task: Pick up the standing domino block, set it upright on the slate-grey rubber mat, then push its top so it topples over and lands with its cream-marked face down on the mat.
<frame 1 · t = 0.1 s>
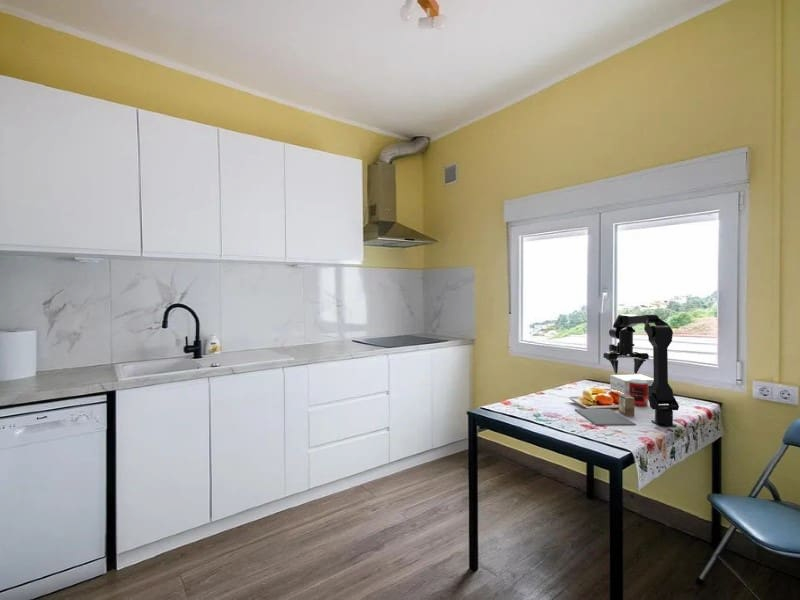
hand: (625, 373, 193), 15 cm above the table, fingers open, 9 cm apart
supplement box: (632, 395, 210), on the table
mat: (603, 417, 174), on the table
canned food: (638, 404, 193), on the table
block: (626, 414, 178), on the table
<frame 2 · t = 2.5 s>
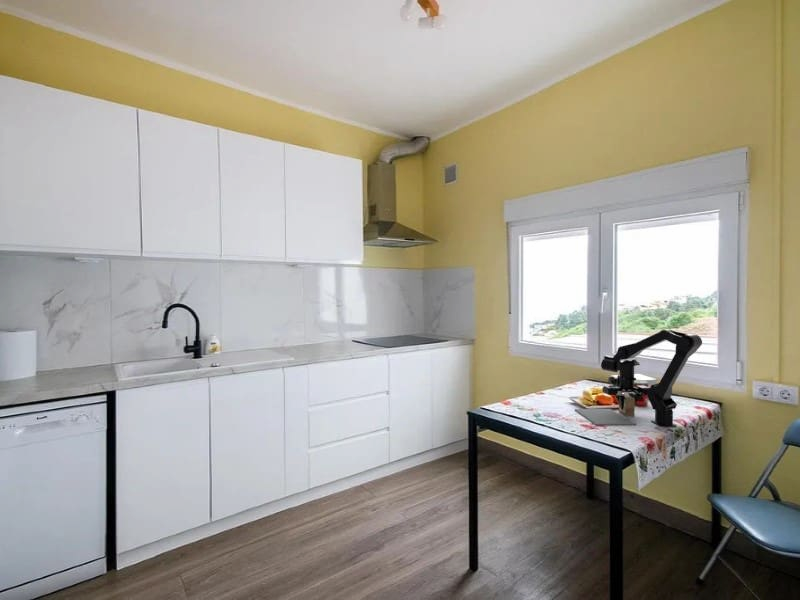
hand: (626, 409, 178), 2 cm above the table, fingers closed on block, 4 cm apart
block: (626, 414, 178), on the table, touching gripper
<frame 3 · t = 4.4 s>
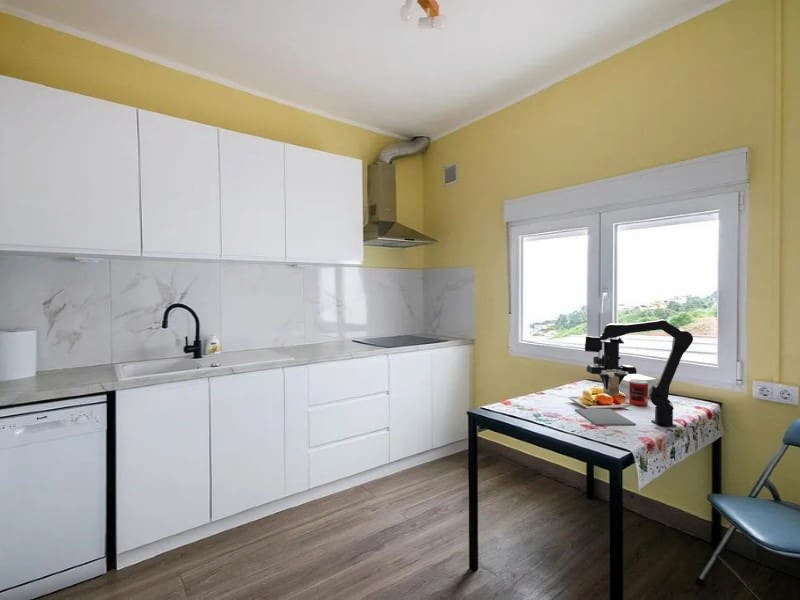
hand: (610, 389, 174), 12 cm above the table, fingers closed on block, 4 cm apart
block: (610, 394, 174), point 10 cm above the table, touching gripper
when the fingers open (4 cm above the table, at t = 6.2 s): block stays where it is, resting on mat.
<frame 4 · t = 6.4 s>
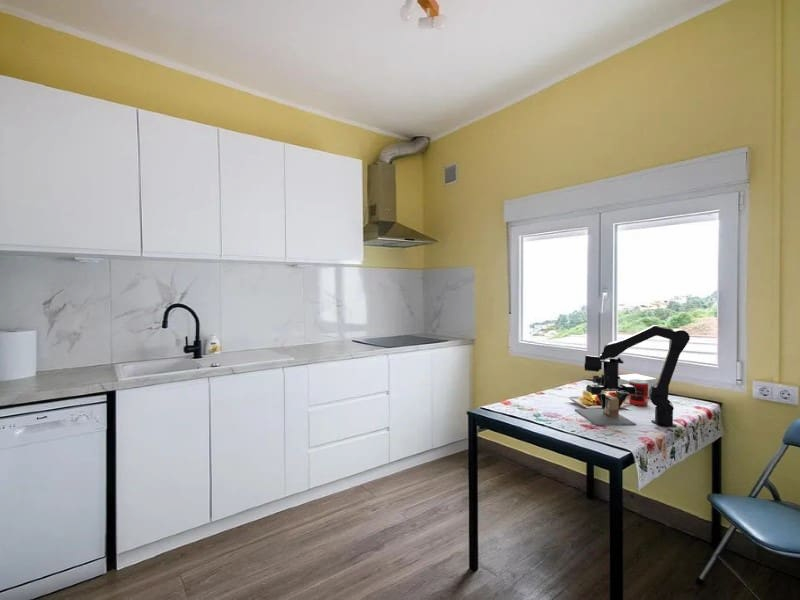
hand: (610, 408, 174), 4 cm above the table, fingers open, 6 cm apart
block: (610, 415, 174), point 1 cm above the table, touching mat
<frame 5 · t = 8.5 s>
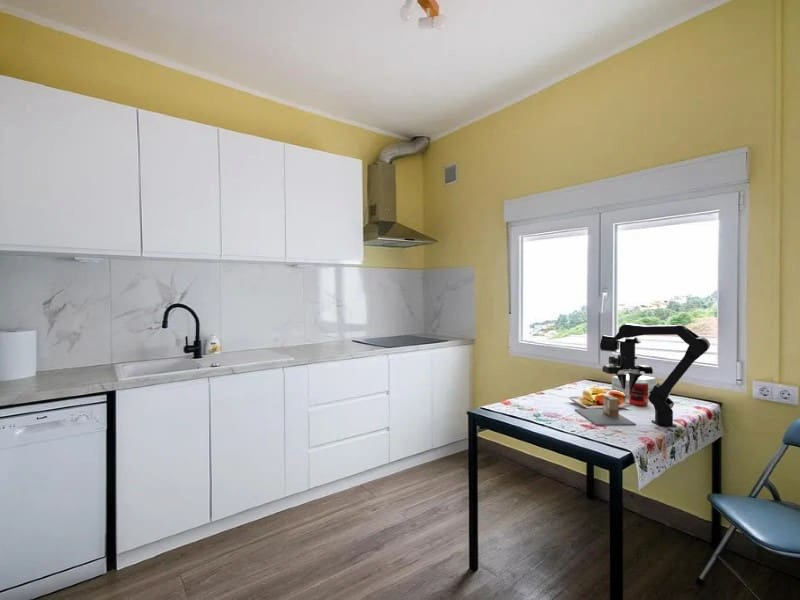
hand: (627, 389, 174), 12 cm above the table, fingers open, 3 cm apart
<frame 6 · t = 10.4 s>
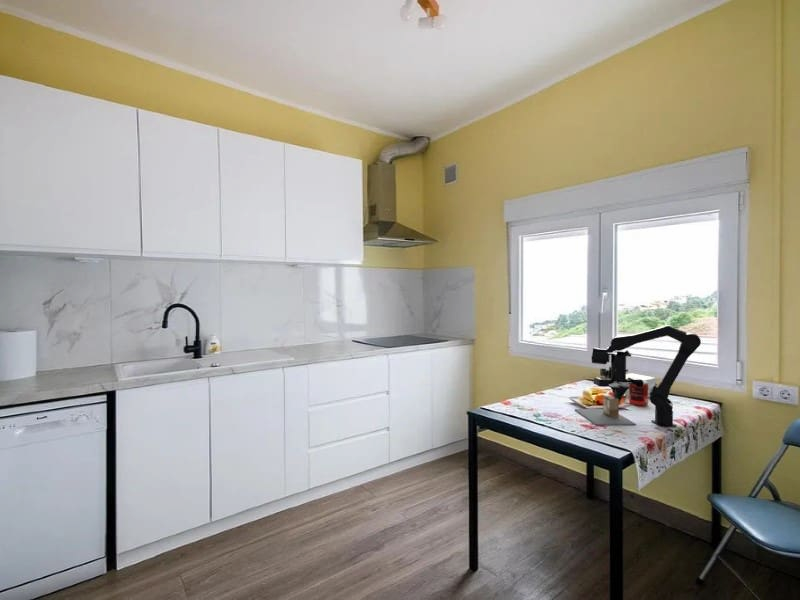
hand: (617, 401, 174), 7 cm above the table, fingers closed
block: (610, 415, 174), point 1 cm above the table, touching gripper, mat
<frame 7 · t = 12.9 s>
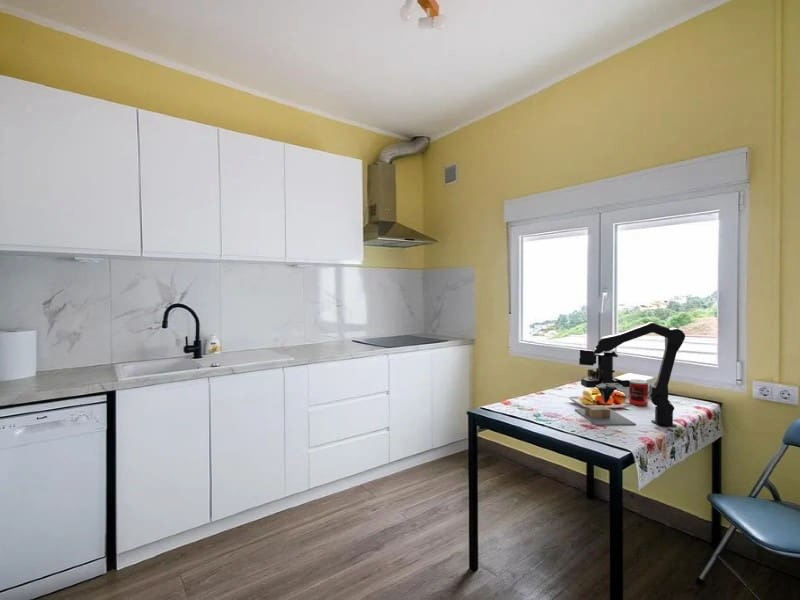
hand: (605, 402, 174), 6 cm above the table, fingers closed
block: (606, 411, 174), point 2 cm above the table, tilted 90°, touching mat
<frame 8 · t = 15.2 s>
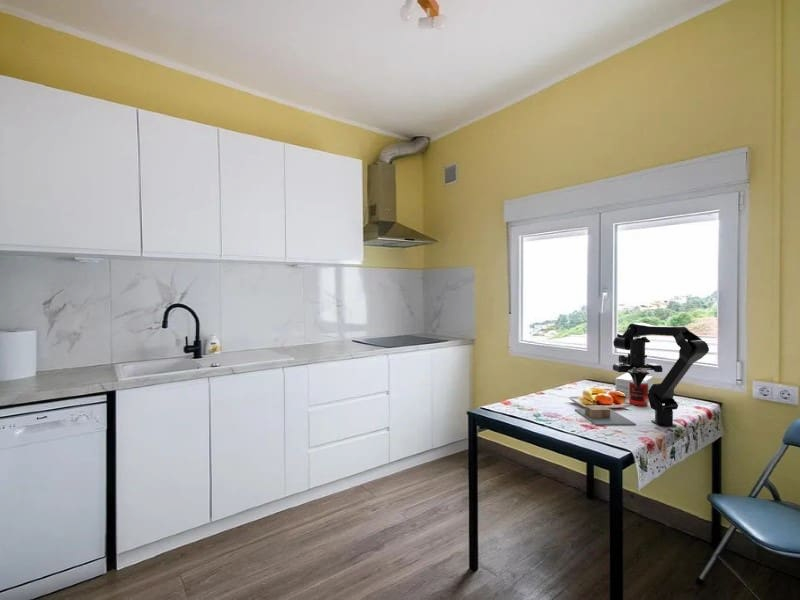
hand: (637, 387, 177), 12 cm above the table, fingers closed
at the end: block tilted 90°; block inside the target area on the mat (1.4 cm from its centre), point 2.5 cm above the mat's base; the gripper is holding nothing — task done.
